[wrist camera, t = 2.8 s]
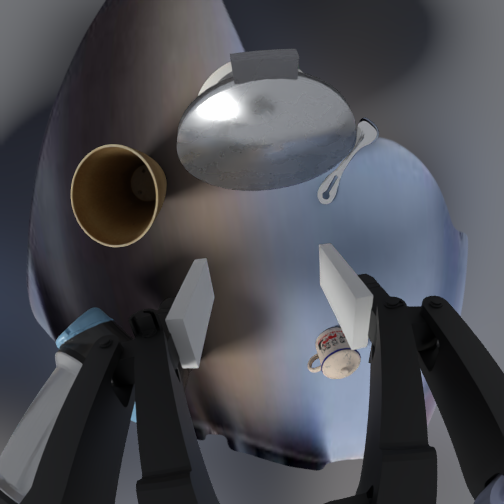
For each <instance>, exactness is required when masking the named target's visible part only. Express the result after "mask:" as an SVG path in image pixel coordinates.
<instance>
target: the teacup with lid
mask: <svg viewBox="0 0 504 504" xmlns="http://www.w3.org/2000/svg"><path fill="white" fill-rule="evenodd" d="M316 350H317V353H318V354H316V355H314V356H312V357H311V358H310V360H309V362H308V369H309V370H310V371H311V372H319V371H321V370H322V372H323V374H324V375H325V376H327V377H328V378H331V379H341V378H344V377H347V376H349V375H351V374H352V373H353V372H354V371H355V370H356V369H357V368H358V366H359V364H360V360H361V357H360V354H359V352H358V351H357V350H356V349H355V350H351V348H350V346H349V344H348V342H347V339H346V337H345V335H344V333H343V331H342V329H341V328H339V327H335V328H330V329H327V330H325V331H324V332H322V333H321V334H320V335H319V337H318V338H317V340H316ZM318 358H319V359H320V363H321V366H319V367H316V368H311V366H312V363H313V362H314V361H315V360H316V359H318Z"/></svg>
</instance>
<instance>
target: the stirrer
mask: <svg viewBox="0 0 504 504" xmlns="http://www.w3.org/2000/svg"><path fill="white" fill-rule="evenodd" d="M378 136H379V131H378V128H377V126H376V125H375V124H374V123H373V122H372V121H371V120H369V119H368V118H362V119H361V120H360V122H359V123H358V127H357V138H356V143H355V146H354V148H353V150H352V151H351V152H350V154H349V155H348V156H347V157H346V158H345V159H344V160H343V161H342V162H341V163H340V165H339V166H338V168H337V169H336V170H335V171H334V172H332V173H331V174H330V175H328V176H327V177H326V179H325V180H324V181H323V183H322V184H321V186H320V188H319V190H318V193H317V197H318V200H319V202H320V203H321V204H329V203H331V202H332V200H333V199H334V197H335V195H336V192H337V190H338V187H339V184H340V179H341V176H342V173H343V171H344V170H345V168H346V167H347V165H348V163H349V161H350V160H351V158H352V157H353V156H354V154H355V153H356V152H357V151H358V150H359V149H361V148H362V147H364V146H366V145H368V144H371V143H373V142H374V141H376V139H377V138H378ZM335 175H336V176H337V177H338V178H337V179H336V181H335V183H334V185H333V186H332V188H331V190H330V191H329V198H328V199H324V198H323V196H322V194H323V192H325V191H326V190H327V188H328V187H329V185H330V183H331V182H332V180H333V178H334V176H335Z"/></svg>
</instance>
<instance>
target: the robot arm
mask: <svg viewBox="0 0 504 504" xmlns="http://www.w3.org/2000/svg"><path fill="white" fill-rule="evenodd" d="M319 261H320V285H321V287H322V289H323V291H324V293H325V295H326V298H327V300H328V302H329V304H330V306H331V308H332V310H333V312H334V314H335V316H336V318H337V320H338V322H339V324H340V327H341V329H342V331H343V333H344V335H345V337H346V339H347V342H348V344H349V346H350V348H351V350H355V349H360V348H364V347H367V343H368V337H369V339H370V340H371V342H372V346H371V352H370V357H369V363H371V370H370V397H369V412H368V424H367V435H366V443H365V451H364V459H363V466H362V472H361V478H360V482H359V486H358V489H357V491H356V495H355V496H351V497H347V498H343V499H339V500H334V501H330V502H328V503H325V504H436V497H437V455H436V450H435V448H434V447H431V446H429V444H428V437H427V420H426V409H425V400H424V392H423V384H422V377H421V371H422V373H423V375H424V377H425V379H426V381H427V384H428V386H429V388H430V390H431V392H432V395H433V397H434V399H435V401H436V404H437V406H438V408H439V411H440V413H441V415H442V418H443V420H444V423H445V425H446V427H447V430H448V433H449V435H450V438H451V441H452V443H453V446H454V449H455V452H456V455H457V457H458V460H459V464H460V467H461V470H462V473H463V476H464V479H465V481H466V484H467V487H468V489H469V491H470V493H471V495H472V496H473V498H474V499H475V502H474V504H504V373H503V372H502V370H501V369H500V367H499V366H498V365H497V363H496V362H495V361H494V359H493V358H492V356H491V355H490V354H489V352H488V351H487V349H486V348H485V347H484V345H483V344H482V343H481V341H480V340H479V339H478V338H477V336H476V335H475V334H474V333H473V331H472V330H471V329H470V328H469V326H468V325H467V324H466V323H465V321H464V320H463V319H462V318H461V317H460V315H459V314H458V313H457V312H456V311H455V310H454V308H453V307H452V306H451V305H450V304H449V303H448V302H447V301H446V300H445V299H443V298H441V297H439V296H429V297H426V298H424V299H423V302H422V306H421V307H409V306H407V305H406V303H405V302H404V301H403V300H402V299H400V298H397V297H390V296H389V295H388V294H387V293H386V291H385V290H384V289H383V288H382V287H381V286H380V285H379V284H378V283H377V281H376V280H375V279H374V278H373V277H371V276H369V275H367V274H361V275H357V274H356V273H355V272H354V270H353V269H352V268H351V267H350V266H349V264H348V263H347V262H346V261H345V260H344V258H343V257H342V256H341V255H340V254H339V252H338V251H337V250H336V249H335V248H334V246H333V245H332V244H331V243H328V244H320V245H319ZM213 302H214V292H213V287H212V283H211V278H210V273H209V268H208V263H207V258H203V259H195V260H194V262H193V264H192V266H191V268H190V270H189V272H188V274H187V276H186V278H185V280H184V282H183V284H182V286H181V288H180V290H179V292H178V294H177V296H176V297H172V298H167V299H166V300H165V301H163V302H162V303H161V305H160V307H159V310H157V311H156V310H154V309H144V310H141V311H138V312H136V313H134V314H133V315H132V316H131V317H130V318H129V323H130V326H131V328H132V331H133V333H134V336H135V339H133V338H132V337H130V336H129V335H128V334H127V333H126V332H125V331H124V330H123V329H122V328H120V327H119V326H118V325H117V324H116V323H115V322H114V320H113V319H112V318H110V317H109V316H107V315H106V314H105V313H104V312H103V311H102V310H101V309H99V308H91V309H89V310H88V311H86V312H85V313H84V314H82V315H81V316H80V317H79V318H77V319H76V320H75V321H74V322H73V323H72V324H71V325H70V326H69V327H68V328H67V329H66V330H65V331H64V332H63V333H62V334H61V335H60V336H59V337H58V339H57V340H56V344H57V347H58V348H59V351H58V352H57V353H56V355H55V360H56V366H57V367H56V369H55V370H54V372H53V373H52V374H51V376H50V377H49V379H48V380H47V382H46V383H45V384H44V386H43V387H42V389H41V390H40V392H39V393H38V395H37V396H36V398H35V399H34V401H33V402H32V404H31V405H30V407H29V408H28V410H27V411H26V413H25V415H24V416H23V418H22V420H21V421H20V423H19V424H18V426H17V428H16V429H15V431H14V433H13V435H12V436H11V438H10V440H9V441H8V443H7V445H6V447H5V449H4V450H3V452H2V454H1V456H0V504H115V497H116V490H117V485H118V478H119V473H120V468H121V462H122V457H123V452H124V447H125V442H126V438H127V433H128V429H129V424H130V420H132V421H134V422H136V423H137V434H138V444H139V452H140V460H141V468H142V479H140V480H138V481H137V484H136V492H137V498H138V503H139V504H220V503H219V501H218V499H217V497H216V495H215V492H214V489H213V487H212V484H211V481H210V478H209V475H208V472H207V469H206V466H205V464H204V461H203V457H202V454H201V451H200V448H199V445H198V441H197V438H196V434H195V431H194V427H193V424H192V420H191V417H190V413H189V409H188V405H187V401H186V397H185V390H186V386H187V381H188V377H189V373H190V372H191V371H192V369H193V368H199V364H200V359H201V355H202V351H203V345H204V341H205V336H206V332H207V328H208V323H209V319H210V315H211V310H212V306H213ZM420 369H421V371H420Z"/></svg>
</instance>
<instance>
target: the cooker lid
mask: <svg viewBox="0 0 504 504" xmlns="http://www.w3.org/2000/svg"><path fill="white" fill-rule="evenodd" d="M230 59H231V66H232V72H233V76H232V77H230V78H227V79H225V80H223V81H220V82H218V83H217V84H215V85H213V86H211V87H210V88H208V89H207V90H205V91H204V92H203V93H201V94H200V95H199V96H198V97H197V98H196V99H195V100H194V101H193V102H192V103H191V104H190V105H189V106H188V108H187V109H186V110H185V112H184V114H183V116H182V118H181V120H180V123H179V126H178V134H177V153H178V157H179V159H180V162H181V163H182V165H183V166H184V168H185V169H186V170H187V171H188V172H189V173H191V174H192V175H193V176H195V177H196V178H198V179H200V180H201V181H203V182H206V183H208V184H211V185H214V186H217V187H221V188H226V189H232V190H242V191H261V190H272V189H279V188H284V187H289V186H293V185H296V184H300V183H303V182H306V181H308V180H311V179H313V178H316V177H318V176H320V175H322V174H324V173H325V172H327V171H329V170H330V169H332V168H333V167H335V166H336V165H337V164H338V163H340V162H341V161H342V160H343V159H344V158H345V157H346V155H347V154H348V153H349V151H350V150H351V148H352V146H353V144H354V141H355V138H356V122H355V119H354V117H353V114H352V112H351V110H350V107H349V105H348V103H347V102H346V100H345V98H344V97H343V96H342V95H341V94H340V93H339V92H338V90H336V89H335V88H334V87H333V86H331V85H330V84H329V83H327V82H325V81H323V80H321V79H319V78H317V77H314V76H312V75H309V74H306V73H302V72H298V67H299V55H298V53H297V51H296V49H280V50H263V51H252V52H242V53H234V54H230Z"/></svg>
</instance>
